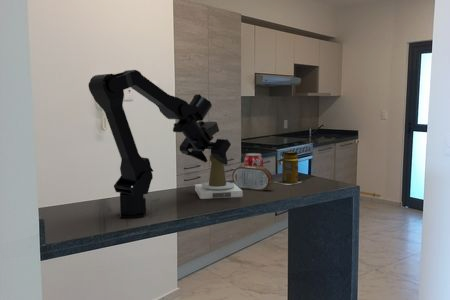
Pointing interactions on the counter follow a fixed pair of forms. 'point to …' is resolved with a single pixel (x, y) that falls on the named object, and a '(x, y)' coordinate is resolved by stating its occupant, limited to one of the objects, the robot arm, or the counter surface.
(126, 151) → the robot arm
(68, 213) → the counter surface
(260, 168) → the tin
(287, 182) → the condiment
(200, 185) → the scale
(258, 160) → the soda can
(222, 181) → the cork
